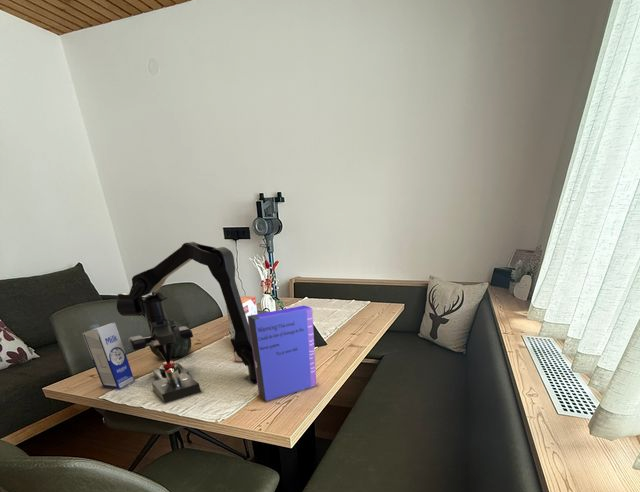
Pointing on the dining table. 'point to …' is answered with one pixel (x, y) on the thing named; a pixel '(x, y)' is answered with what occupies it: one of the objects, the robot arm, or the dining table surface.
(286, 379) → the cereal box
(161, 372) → the block
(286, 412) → the dining table surface
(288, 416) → the dining table surface
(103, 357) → the milk carton
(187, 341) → the squash
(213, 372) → the dining table surface
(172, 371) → the knob
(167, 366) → the disc
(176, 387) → the panel
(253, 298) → the cracker box
